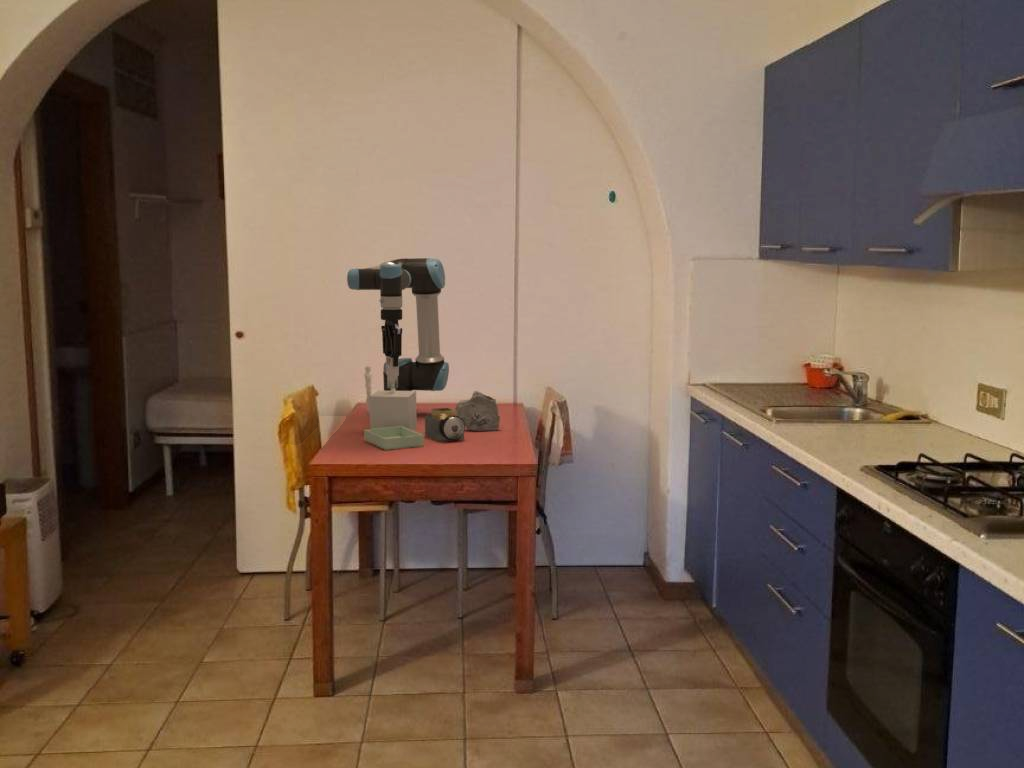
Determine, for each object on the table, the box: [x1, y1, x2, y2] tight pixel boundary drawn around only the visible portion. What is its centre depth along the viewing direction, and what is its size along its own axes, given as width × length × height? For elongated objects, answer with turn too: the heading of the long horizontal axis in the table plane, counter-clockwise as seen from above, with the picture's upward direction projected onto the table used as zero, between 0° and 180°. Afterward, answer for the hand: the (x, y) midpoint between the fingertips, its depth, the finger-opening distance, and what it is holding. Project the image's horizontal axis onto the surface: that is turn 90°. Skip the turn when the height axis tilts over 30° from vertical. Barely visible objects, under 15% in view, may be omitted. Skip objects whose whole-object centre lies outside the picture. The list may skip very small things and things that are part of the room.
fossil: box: [454, 390, 501, 432], centre depth 382 cm, size 17×7×15 cm, turn 93°
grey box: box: [363, 365, 418, 431], centre depth 379 cm, size 15×18×25 cm
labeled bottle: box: [387, 359, 398, 389], centre depth 355 cm, size 4×4×10 cm
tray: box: [363, 426, 425, 451], centre depth 359 cm, size 20×15×4 cm
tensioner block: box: [424, 407, 466, 443], centre depth 367 cm, size 15×10×10 cm, turn 29°
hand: (392, 374), depth 355 cm, fingers closed on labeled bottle, 4 cm apart
